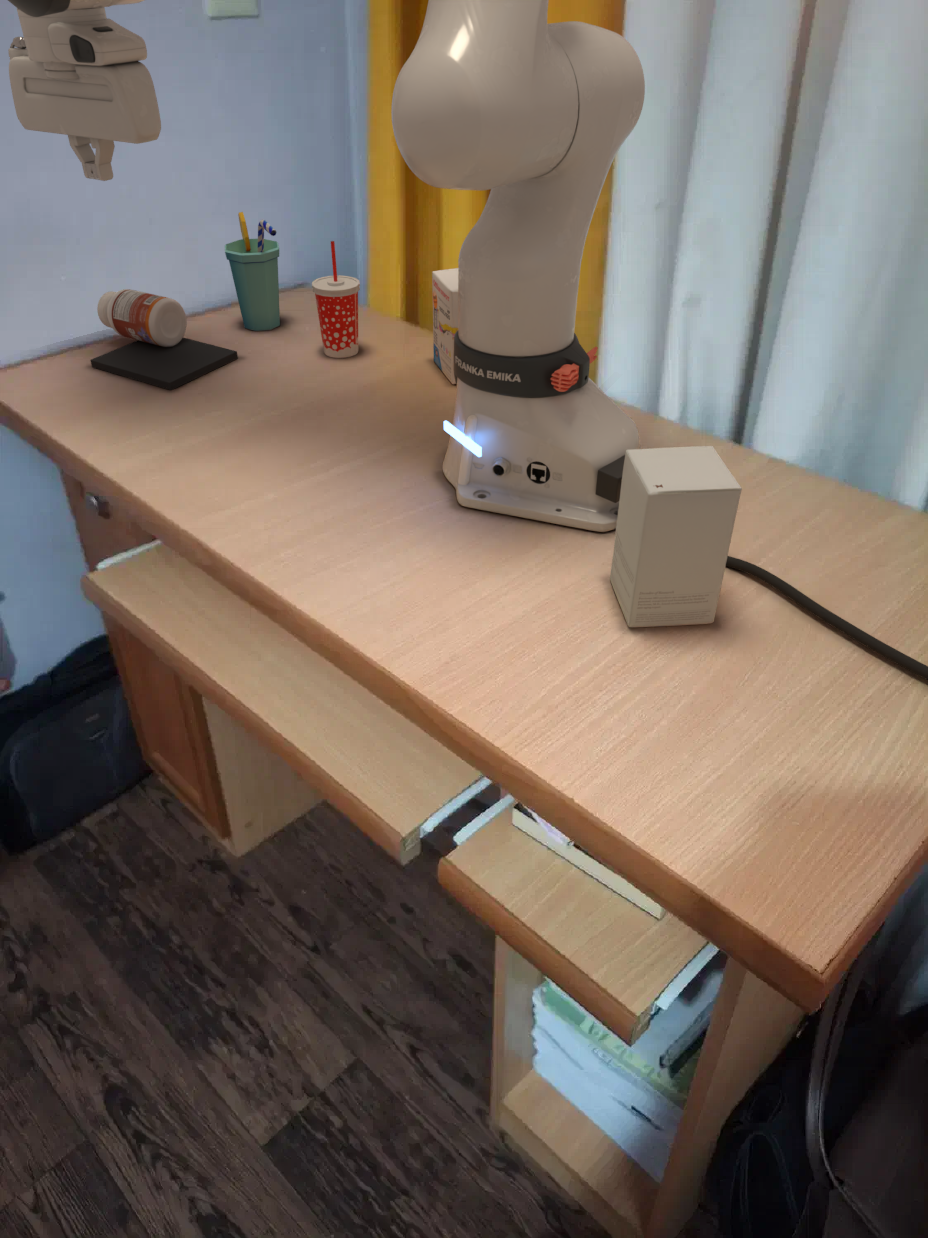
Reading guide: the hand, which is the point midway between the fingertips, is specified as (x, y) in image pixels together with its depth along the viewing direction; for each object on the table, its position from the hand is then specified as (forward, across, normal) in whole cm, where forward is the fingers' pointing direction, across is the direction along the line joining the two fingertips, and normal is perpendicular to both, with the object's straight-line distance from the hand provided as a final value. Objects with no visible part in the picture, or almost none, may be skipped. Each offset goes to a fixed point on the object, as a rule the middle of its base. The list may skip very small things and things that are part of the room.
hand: (99, 178), depth 107 cm
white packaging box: (+22, +79, -16) cm, 83 cm away
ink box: (+22, +40, +19) cm, 49 cm away
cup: (+22, +7, +17) cm, 28 cm away
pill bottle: (+17, +4, +3) cm, 18 cm away
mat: (+21, +5, 0) cm, 22 cm away
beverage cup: (+22, +22, +15) cm, 34 cm away
